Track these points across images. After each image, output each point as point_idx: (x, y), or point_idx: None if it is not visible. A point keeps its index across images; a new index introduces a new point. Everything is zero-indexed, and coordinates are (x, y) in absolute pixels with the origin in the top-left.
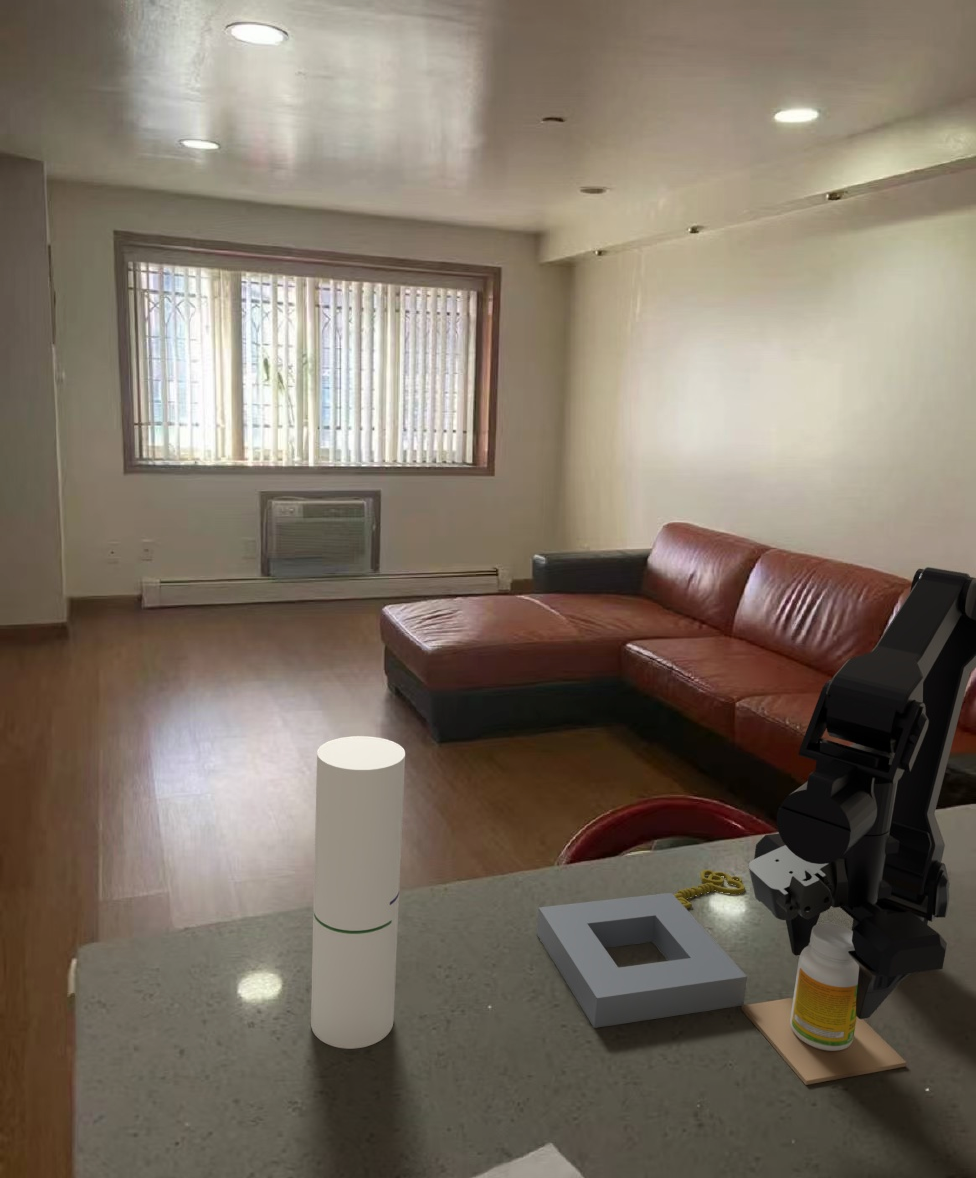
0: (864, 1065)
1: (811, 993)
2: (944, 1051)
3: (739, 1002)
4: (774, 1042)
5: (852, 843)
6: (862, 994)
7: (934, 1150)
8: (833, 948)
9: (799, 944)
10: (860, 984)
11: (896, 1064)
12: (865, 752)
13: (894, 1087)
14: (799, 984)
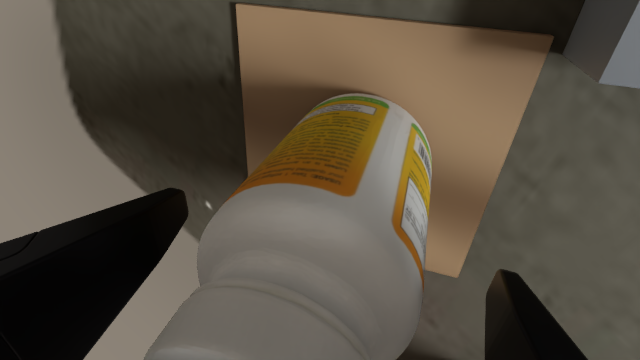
0: (257, 159)
1: (290, 155)
2: None
3: (572, 40)
4: (372, 21)
5: None
6: (72, 225)
7: (97, 113)
8: (158, 338)
9: (498, 312)
10: (46, 246)
11: None
12: None
13: (216, 166)
14: (350, 157)
